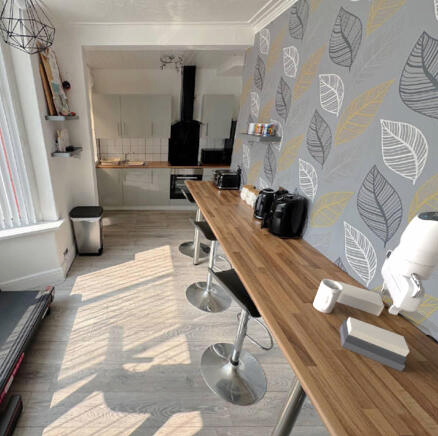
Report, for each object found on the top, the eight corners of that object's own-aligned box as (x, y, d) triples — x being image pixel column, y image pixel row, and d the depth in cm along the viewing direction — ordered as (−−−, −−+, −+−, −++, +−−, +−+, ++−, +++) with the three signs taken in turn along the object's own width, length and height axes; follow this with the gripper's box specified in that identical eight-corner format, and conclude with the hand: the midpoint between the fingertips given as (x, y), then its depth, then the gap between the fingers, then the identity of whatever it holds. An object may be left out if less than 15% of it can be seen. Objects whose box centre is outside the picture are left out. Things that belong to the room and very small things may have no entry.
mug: (312, 299, 101) (321, 276, 96) (331, 305, 98) (341, 282, 93) (312, 314, 93) (322, 290, 88) (333, 322, 90) (344, 297, 85)
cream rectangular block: (399, 341, 77) (403, 336, 76) (405, 356, 72) (409, 351, 71) (346, 321, 84) (349, 316, 83) (348, 334, 79) (351, 329, 78)
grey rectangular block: (393, 350, 80) (400, 339, 78) (401, 371, 73) (409, 361, 71) (339, 328, 87) (344, 318, 85) (341, 346, 80) (347, 336, 78)
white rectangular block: (374, 302, 100) (379, 293, 98) (378, 316, 93) (384, 306, 91) (331, 288, 108) (335, 280, 106) (332, 300, 101) (337, 291, 99)
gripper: (441, 290, 58) (413, 331, 63) (413, 254, 73) (393, 289, 79) (405, 280, 61) (382, 320, 66) (386, 247, 76) (368, 281, 82)
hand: (388, 303), depth 73 cm, fingers open, 8 cm apart
